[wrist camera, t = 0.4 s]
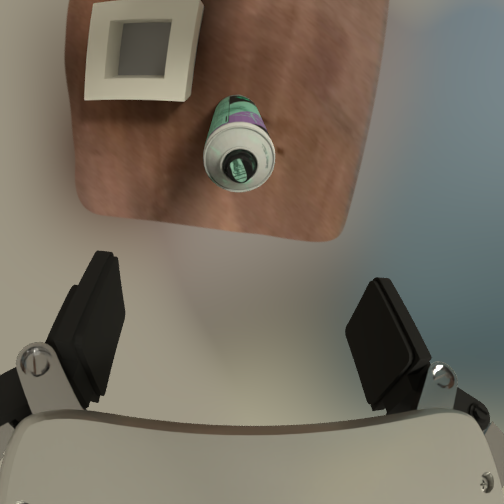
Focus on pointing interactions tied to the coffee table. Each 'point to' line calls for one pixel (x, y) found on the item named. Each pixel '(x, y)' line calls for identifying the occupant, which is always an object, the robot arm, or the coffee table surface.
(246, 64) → the coffee table surface
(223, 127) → the spray can
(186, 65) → the can holder
